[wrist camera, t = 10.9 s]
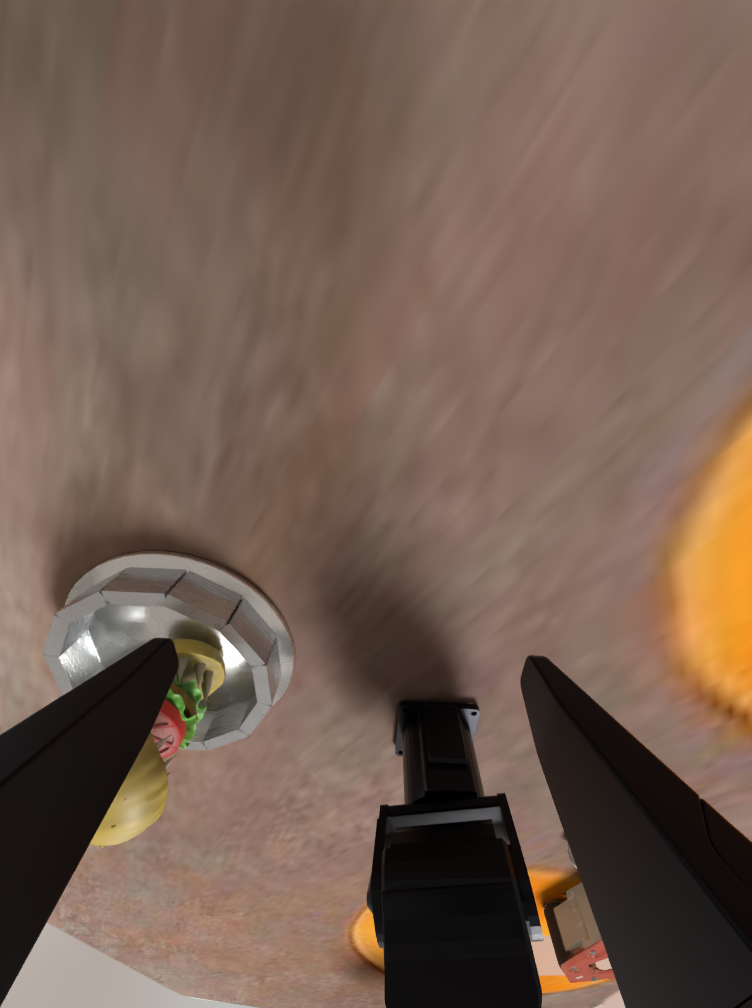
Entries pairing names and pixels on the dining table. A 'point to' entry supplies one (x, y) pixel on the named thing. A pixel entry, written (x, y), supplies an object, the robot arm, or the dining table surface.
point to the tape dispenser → (576, 935)
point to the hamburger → (163, 744)
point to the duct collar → (177, 632)
